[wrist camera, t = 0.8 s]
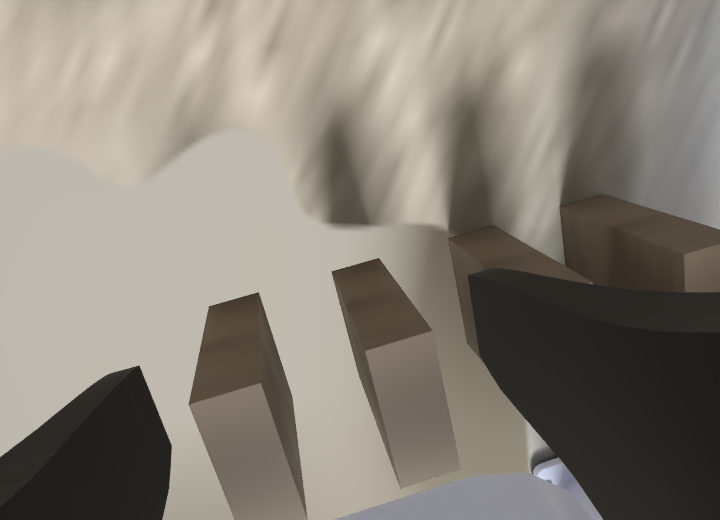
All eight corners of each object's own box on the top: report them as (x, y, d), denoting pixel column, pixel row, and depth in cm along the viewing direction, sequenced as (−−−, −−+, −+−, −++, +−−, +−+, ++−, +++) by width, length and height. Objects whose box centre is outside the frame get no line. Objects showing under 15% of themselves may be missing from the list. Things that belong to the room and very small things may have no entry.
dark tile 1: (610, 299, 25) (740, 375, 18) (570, 311, 24) (687, 393, 18) (602, 194, 23) (742, 236, 16) (559, 206, 23) (684, 254, 16)
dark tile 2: (509, 330, 24) (604, 420, 17) (467, 343, 24) (548, 439, 17) (493, 225, 22) (592, 282, 16) (448, 238, 22) (529, 301, 16)
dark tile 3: (403, 362, 23) (460, 468, 17) (359, 376, 23) (400, 488, 17) (378, 258, 22) (432, 330, 15) (331, 271, 22) (365, 350, 15)
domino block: (292, 396, 23) (307, 519, 16) (246, 411, 23) (243, 541, 16) (258, 292, 21) (260, 382, 15) (209, 306, 21) (188, 404, 15)
